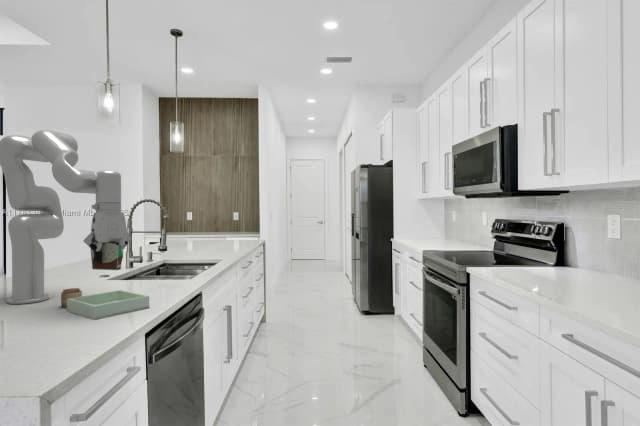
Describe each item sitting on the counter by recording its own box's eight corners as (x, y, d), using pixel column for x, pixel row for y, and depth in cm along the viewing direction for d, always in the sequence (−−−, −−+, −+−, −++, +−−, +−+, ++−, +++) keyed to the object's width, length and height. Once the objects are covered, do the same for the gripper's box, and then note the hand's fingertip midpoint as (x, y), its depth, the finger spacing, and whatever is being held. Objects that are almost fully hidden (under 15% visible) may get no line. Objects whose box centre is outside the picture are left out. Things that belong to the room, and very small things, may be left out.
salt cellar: (57, 306, 136) (57, 290, 136) (76, 303, 141) (76, 287, 141) (66, 309, 133) (66, 292, 133) (84, 305, 138) (84, 289, 138)
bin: (66, 311, 131) (66, 298, 130) (120, 300, 145) (120, 289, 145) (94, 319, 120) (94, 306, 120) (149, 307, 135) (149, 296, 135)
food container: (133, 267, 135) (133, 238, 135) (121, 270, 129) (120, 239, 129) (102, 266, 138) (102, 237, 138) (88, 269, 132) (88, 239, 132)
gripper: (87, 208, 123) (87, 266, 123) (139, 208, 138) (139, 260, 138) (75, 208, 128) (75, 264, 128) (127, 208, 142) (127, 258, 142)
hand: (108, 261), depth 133 cm, fingers closed on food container, 6 cm apart
